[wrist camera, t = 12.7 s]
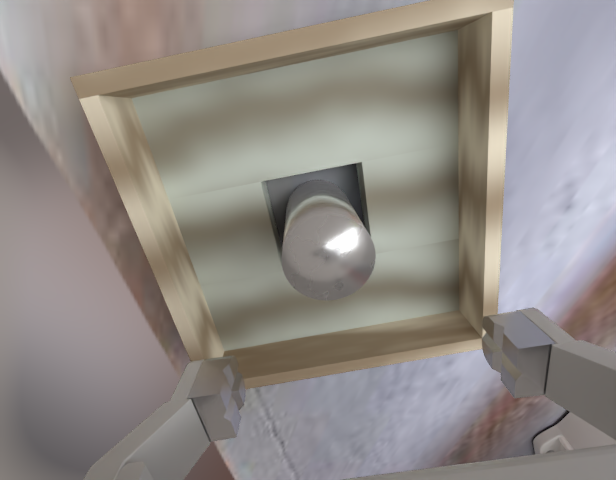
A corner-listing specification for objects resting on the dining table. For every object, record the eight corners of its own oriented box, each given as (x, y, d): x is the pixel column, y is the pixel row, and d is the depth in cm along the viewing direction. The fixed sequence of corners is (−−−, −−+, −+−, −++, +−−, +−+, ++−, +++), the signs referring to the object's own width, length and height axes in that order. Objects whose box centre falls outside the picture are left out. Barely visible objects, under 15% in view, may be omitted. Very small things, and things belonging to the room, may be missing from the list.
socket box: (456, 301, 28) (495, 346, 23) (222, 342, 29) (205, 395, 24) (454, 18, 20) (514, -18, 15) (129, 87, 21) (69, 77, 16)
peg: (353, 233, 26) (380, 291, 17) (293, 245, 26) (292, 307, 18) (344, 174, 24) (370, 206, 16) (280, 186, 24) (271, 225, 16)
